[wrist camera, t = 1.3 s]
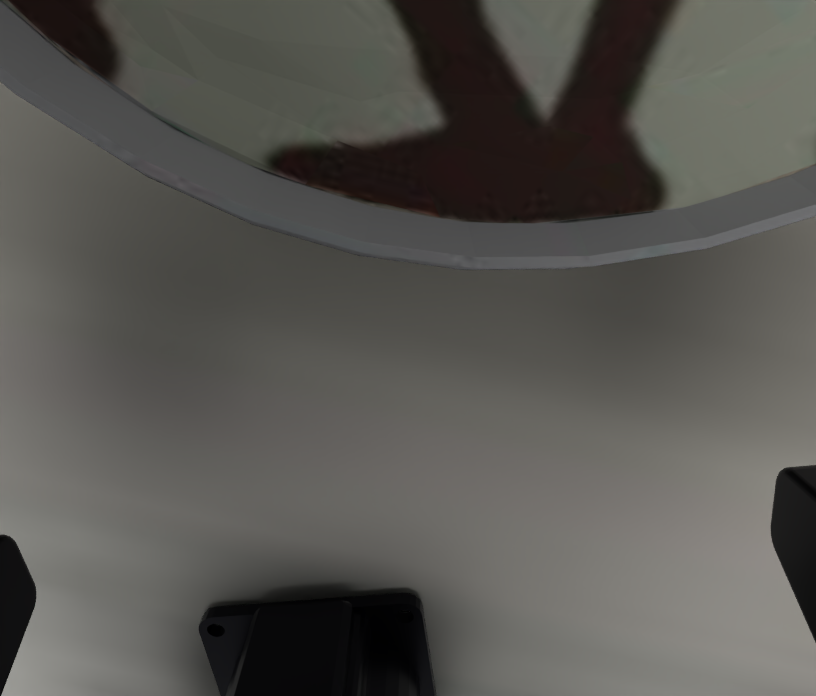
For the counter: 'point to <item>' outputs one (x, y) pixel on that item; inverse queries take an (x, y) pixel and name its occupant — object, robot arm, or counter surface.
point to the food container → (446, 117)
